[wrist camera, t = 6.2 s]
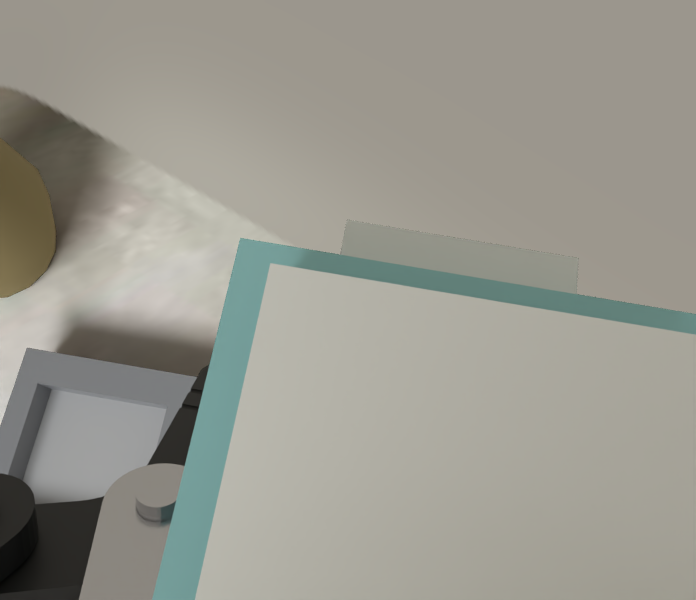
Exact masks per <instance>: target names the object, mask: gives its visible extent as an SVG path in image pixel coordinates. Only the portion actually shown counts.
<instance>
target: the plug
mask: <svg viewBox="0 0 696 600" xmlns="http://www.w3.org/2000/svg"><path fill="white" fill-rule="evenodd" d="M578 260H579V258H576V257H570V256H564V255H557V254H551V253H545V252H539V251H533V250H527V249H521V248H515V247H509V246H502V245H497V244H491V243H485V242H479V241H473V240H467V239H461V238H455V237H449V236H443V235H437V234H430V233H424V232H418V231H412V230H406V229H400V228H394V227H388V226H382V225H376V224H370V223H364V222H358V221H352V220H347V222H346V227H345V232H344V238H343V243H342V248H341V253H340V255H339V254H333V253H327V252H321V251H315V250H309V249H303V248H297V247H291V246H285V245H279V244H273V243H267V242H262V241H256V240H250V239H244V238H240V241H239V245H238V250H237V254H236V258H235V262H234V266H233V270H232V274H231V278H230V282H229V286H228V291H227V295H226V299H225V303H224V307H223V311H222V315H221V319H220V323H219V327H218V332H217V336H216V340H215V344H214V348H213V352H212V356H211V360H210V364H209V368H208V373H207V377H206V381H205V385H204V389H203V393H202V397H201V401H200V405H199V409H198V414H197V418H196V422H195V426H194V430H193V434H192V438H191V442H190V446H189V451H188V455H187V459H186V463H185V467H184V471H183V475H182V479H181V483H180V487H179V492H178V496H177V500H176V504H175V508H174V512H173V516H172V520H171V524H170V528H169V533H168V537H167V541H166V545H165V549H164V553H163V557H162V561H161V565H160V569H159V574H158V578H157V582H156V586H155V590H154V594H153V598H152V600H696V314H692V313H686V312H680V311H674V310H668V309H662V308H656V307H650V306H644V305H638V304H632V303H626V302H620V301H614V300H608V299H602V298H596V297H590V296H584V295H579V294H577V277H578Z"/></svg>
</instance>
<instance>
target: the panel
mask: <svg viewBox="0 0 696 600" xmlns="http://www.w3.org/2000/svg"><path fill="white" fill-rule="evenodd" d="M196 378H197V377H194V376H188V375H182V374H177V373H171V372H165V371H159V370H153V369H148V368H142V367H136V366H130V365H124V364H119V363H113V362H107V361H101V360H95V359H90V358H84V357H78V356H72V355H66V354H61V353H55V352H49V351H43V350H37V349H32V348H27V349H26V352H25V355H24V358H23V361H22V364H21V367H20V370H19V373H18V376H17V379H16V382H15V385H14V387H13V390H12V393H11V396H10V399H9V402H8V405H7V408H6V411H5V414H4V417H3V420H2V423H1V426H0V473H2V474H7V475H11V476H14V477H16V478H19V479H21V480H22V481H24V482H25V483H26V484H27V485H28V486H29V487H30V488H31V490H32V492H33V494H34V499H35V504H45V503H58V502H71V501H82V500H90V499H95V498H99V497H103V496H105V494H106V492H107V491H108V489H109V487H110V486H111V485H112V484H113V483H114V482H115V481H116V480H117V479H119V478H120V477H121V476H123V475H124V474H126V473H128V472H130V471H132V470H134V469H137V468H140V467H143V466H146V465H147V464H148V463H149V461H150V459H151V457H152V456H153V454H154V452H155V450H156V449H157V447H158V445H159V443H160V442H161V440H162V438H163V436H164V435H165V433H166V431H167V429H168V428H169V426H170V424H171V422H172V421H173V419H174V417H175V415H176V414H177V412H178V410H179V408H181V407H182V403H183V401H184V400H185V398H186V396H187V394H188V393H189V392H190V391H191V387H192V385H193V384H194V382H195V380H196Z"/></svg>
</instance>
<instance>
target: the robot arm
mask: <svg viewBox="0 0 696 600" xmlns="http://www.w3.org/2000/svg"><path fill="white" fill-rule="evenodd" d="M208 368H209V365H208V366H206V367H205V368H203V369H202V370H201V371H200V373H199V375H198V377H197V378H196V380H195V382H194V384H193V385H192V387H191V391H190V392H189V393H188V394H187V396H186V398H185V400H184V401H183V403H182V407H181V408H179V410H178V412H177V414H176V415H175V417H174V419H173V421H172V422H171V424H170V426H169V428H168V429H167V431H166V433H165V435H164V436H163V438H162V440H161V442H160V443H159V445H158V447H157V449H156V450H155V452H154V454H153V456H152V457H151V459H150V461H149V463H148V464H147V465H146V466H143V467H140V468H137V469H134V470H132V471H130V472H128V473H126V474H124V475H123V476H121V477H120V478H119V479H117V480H116V481H115V482H114V483H113V484H112V485H111V486H110V487H109V489H108V491H107V492H106V494H105V496H103V497H99V498H95V499H90V500H82V501H71V502H58V503H45V504H35V499H34V494H33V492H32V490H31V488H30V487H29V486H28V485H27V484H26V483H25V482H24V481H22V480H21V479H19V478H16V477H14V476H11V475H7V474H2V473H0V600H152V598H153V594H154V590H155V586H156V582H157V578H158V574H159V569H160V565H161V561H162V557H163V553H164V549H165V545H166V541H167V537H168V533H169V528H170V524H171V520H172V516H173V512H174V508H175V504H176V500H177V496H178V492H179V487H180V483H181V479H182V475H183V471H184V467H185V463H186V459H187V455H188V451H189V446H190V442H191V438H192V434H193V430H194V426H195V422H196V418H197V414H198V409H199V405H200V401H201V397H202V393H203V389H204V385H205V381H206V377H207V373H208Z"/></svg>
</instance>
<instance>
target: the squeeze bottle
mask: <svg viewBox="0 0 696 600" xmlns="http://www.w3.org/2000/svg"><path fill="white" fill-rule="evenodd" d="M55 247H56V228H55V223H54V217H53V212H52V207H51V202H50V197H49V194H48V191H47V189H46V187H45V185H44V182H43V180H42V178H41V176H40V173H39V171H38V169H37V168H35V167H34V166H33V165H32V164H31V163H30V162H28V161H27V160H26V159H25V158H24V157H22V156H21V155H20V154H19V153H18V152H17V151H15V150H14V149H13V148H12V147H11V146H9V145H8V144H7V143H6V142H5V141H4V140H2V139H1V138H0V298H5V297H9V296H11V295H13V294H16V293H18V292H20V291H22V290H24V289H26V288H28V287H30V286H31V285H32V284H33V283H34V282H35V281H36V280H37V279H38V278H39V277H40V276H41V275H42V274H43V273H44V272H45V271H46V270H47V268H48V266H49V263H50V261H51V259H52V257H53V255H54V253H55Z"/></svg>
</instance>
